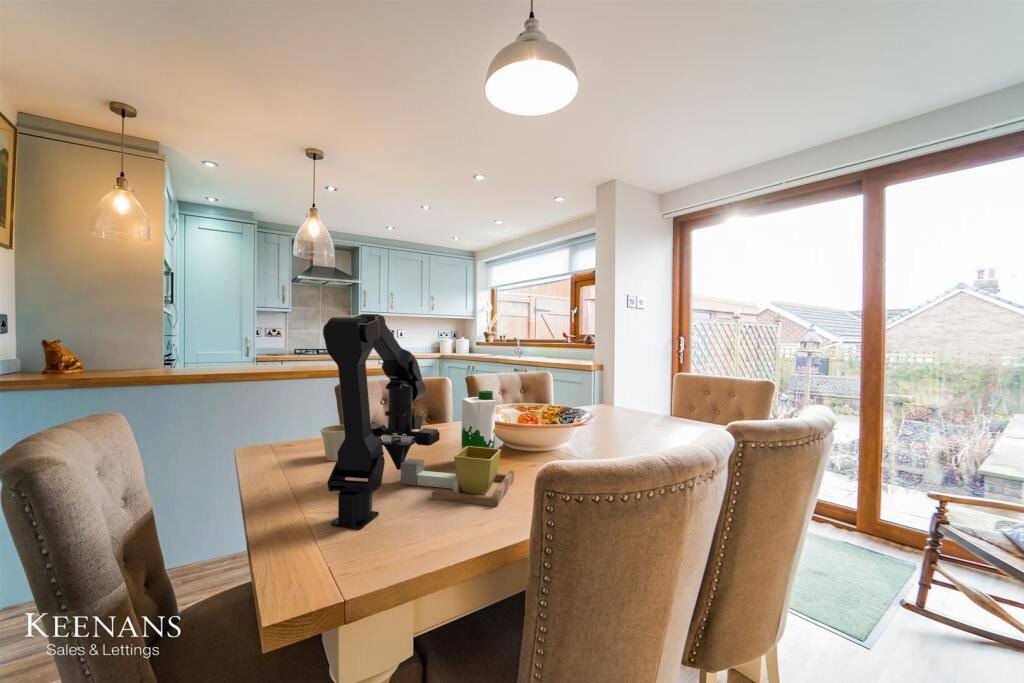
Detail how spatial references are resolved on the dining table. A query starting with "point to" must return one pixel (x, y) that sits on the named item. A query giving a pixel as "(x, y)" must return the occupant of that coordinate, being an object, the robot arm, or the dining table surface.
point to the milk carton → (479, 420)
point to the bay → (479, 499)
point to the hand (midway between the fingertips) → (399, 469)
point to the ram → (426, 476)
